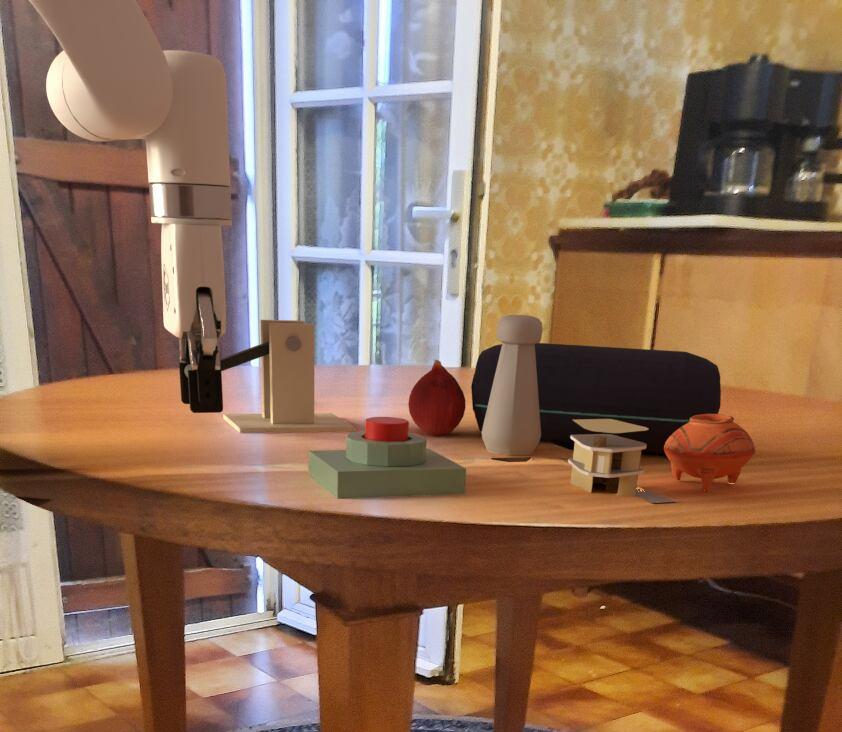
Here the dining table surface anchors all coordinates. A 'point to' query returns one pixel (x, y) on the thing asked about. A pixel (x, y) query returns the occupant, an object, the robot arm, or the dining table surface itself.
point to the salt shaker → (514, 391)
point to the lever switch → (240, 357)
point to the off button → (386, 429)
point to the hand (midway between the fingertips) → (201, 405)
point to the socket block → (385, 469)
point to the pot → (709, 449)
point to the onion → (437, 402)
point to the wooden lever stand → (287, 384)
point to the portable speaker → (610, 390)
